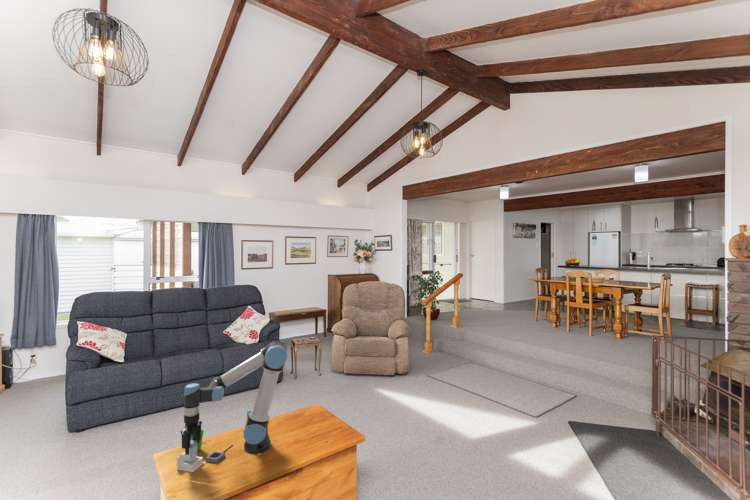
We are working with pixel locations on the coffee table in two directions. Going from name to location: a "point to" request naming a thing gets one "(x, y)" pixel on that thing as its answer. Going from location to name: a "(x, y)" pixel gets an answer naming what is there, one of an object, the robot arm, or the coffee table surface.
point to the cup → (199, 440)
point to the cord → (227, 448)
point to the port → (187, 466)
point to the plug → (193, 451)
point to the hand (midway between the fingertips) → (191, 457)
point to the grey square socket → (215, 457)
